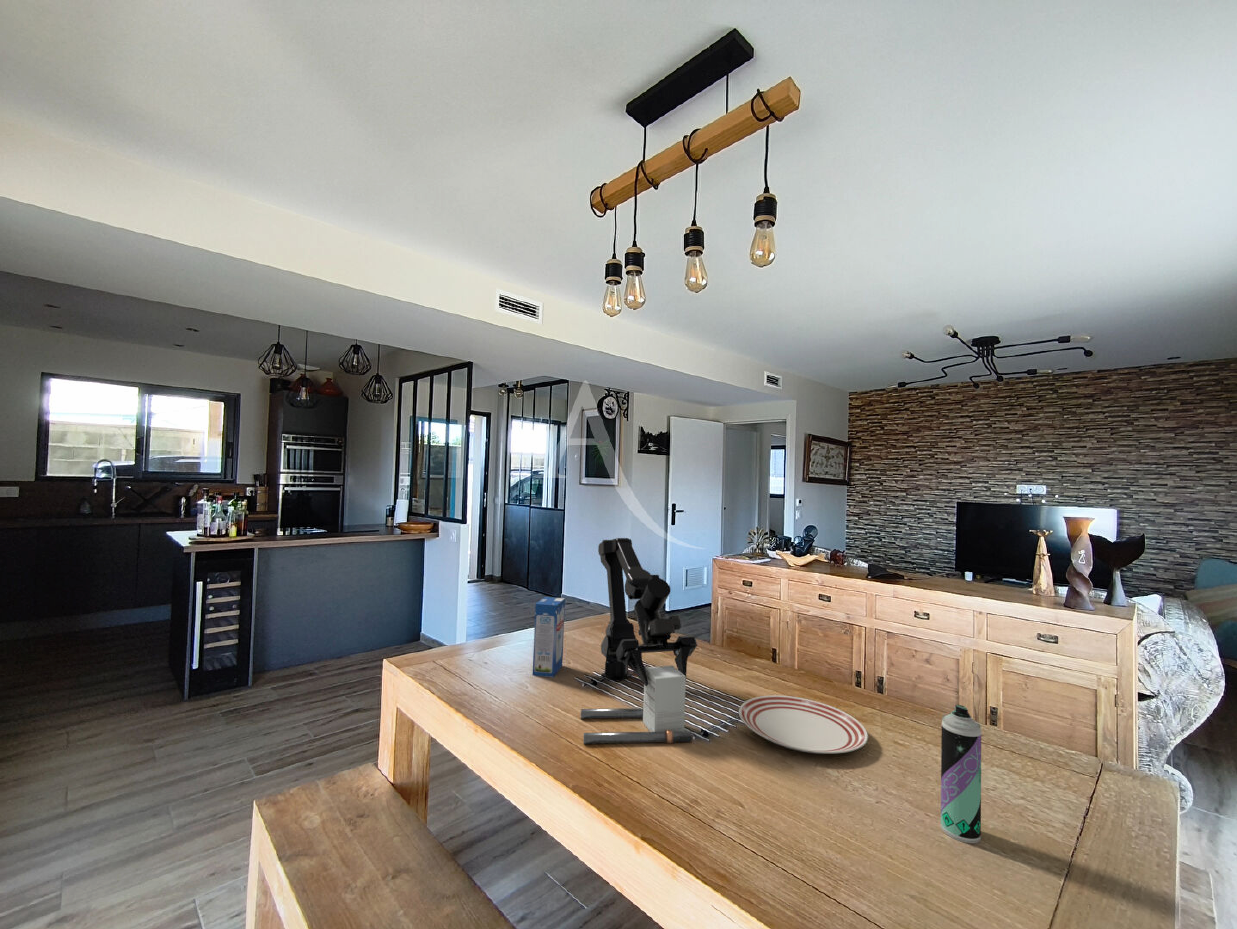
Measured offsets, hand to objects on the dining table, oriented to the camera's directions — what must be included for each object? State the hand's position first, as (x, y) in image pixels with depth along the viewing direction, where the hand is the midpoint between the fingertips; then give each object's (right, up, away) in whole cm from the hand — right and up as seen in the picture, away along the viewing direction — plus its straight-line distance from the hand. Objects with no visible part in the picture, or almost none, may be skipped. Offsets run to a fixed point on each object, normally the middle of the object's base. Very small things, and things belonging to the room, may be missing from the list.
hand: (666, 683), depth 119 cm
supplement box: (-1, -10, 0) cm, 10 cm away
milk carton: (-31, -11, +35) cm, 48 cm away
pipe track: (-7, -10, 0) cm, 12 cm away
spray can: (+45, -11, -33) cm, 57 cm away
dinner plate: (+31, -12, +1) cm, 33 cm away
